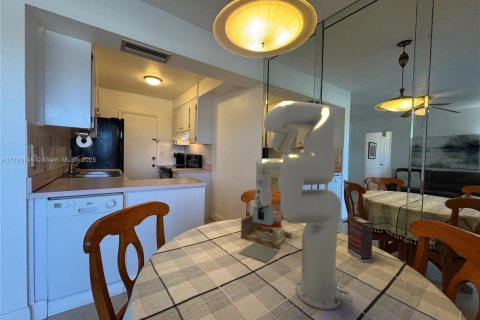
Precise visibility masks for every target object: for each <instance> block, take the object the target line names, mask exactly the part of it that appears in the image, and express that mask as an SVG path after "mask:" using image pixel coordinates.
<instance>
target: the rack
mask: <svg viewBox="0 0 480 320" xmlns="http://www.w3.org/2000/svg"><path fill="white" fill-rule="evenodd" d="M240 226H241V227H240V239H241V240H244V239H245V240H244V241H248V242H251V243H254V242H255V243H254V244H258V245H261V246H265V247H268V248H271V249H275V250H278V251H279V250H281V244H280V243H278V242H274V241H271V239H267V238H263V237H258V236H255V235H252V234H255V233H256V232H259V231H260V232H262V233H266V232H267V233H266V234H271V235H272V234H273V230H275V229H276V228H267V227H263V226H259V223H257V222H253V213H251V214H249V215H247V216H244V217H242V218H241V219H240ZM258 230H259V231H258ZM255 231H256V232H255ZM250 234H251V235H250ZM292 234H293V233H291V232H288V231H285V230H284V235H285V239H292V238H293V235H292Z"/></svg>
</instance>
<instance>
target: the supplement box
mask: <svg viewBox="0 0 480 320" xmlns="http://www.w3.org/2000/svg"><path fill="white" fill-rule="evenodd" d="M347 221H348V222H347V223H348V224H347V227H348V228H347V233H348V234H347V253H348V254H349V255H350V256H353V258H355V259H357V260H358V261H360V262H361V263H368V262H372V261H373V259H372V258H373V222H372V221H369V220H367V219H364V218H361V217H359V216H348V219H347Z"/></svg>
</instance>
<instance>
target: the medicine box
mask: <svg viewBox="0 0 480 320" xmlns="http://www.w3.org/2000/svg"><path fill="white" fill-rule="evenodd" d="M259 226H263V227H267V228H272V229H276V228H278V227H279V228H282V213H279V212H278V211H276V210H275V211H274V210H273V224H271V225H267V224H262V223H259Z"/></svg>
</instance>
